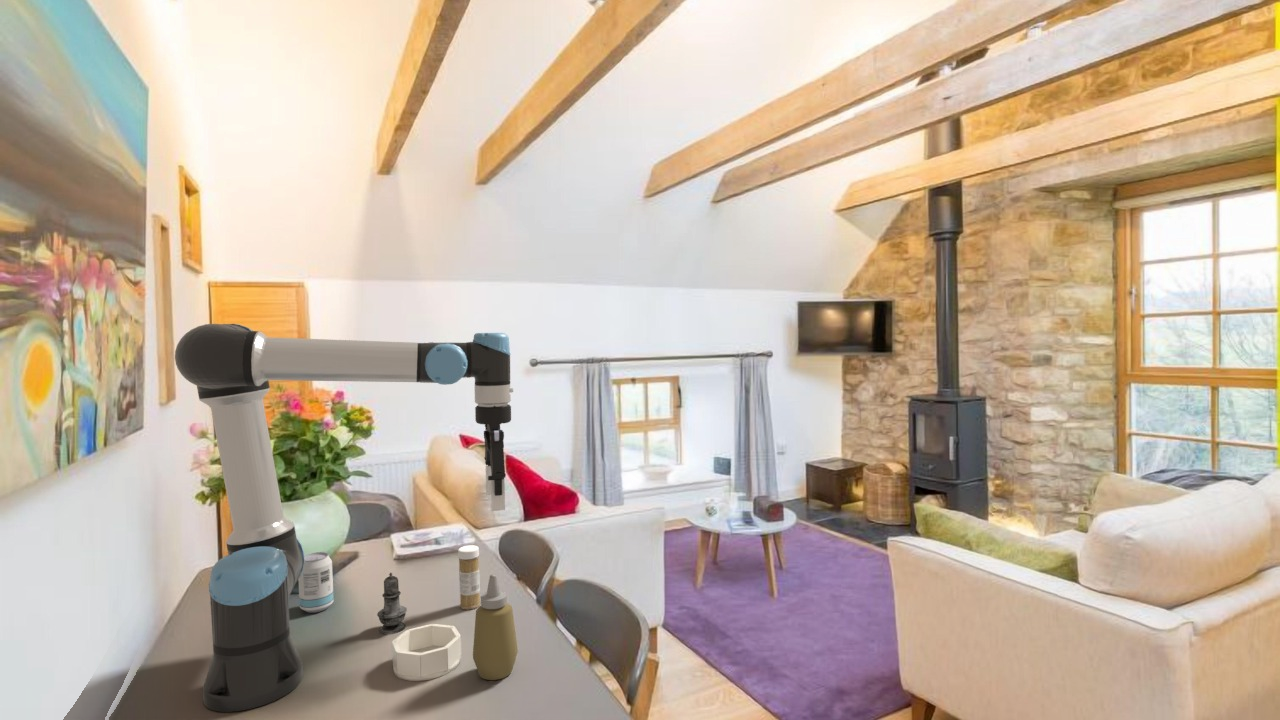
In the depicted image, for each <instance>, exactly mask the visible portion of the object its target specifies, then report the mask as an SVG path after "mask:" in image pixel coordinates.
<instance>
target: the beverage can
mask: <svg viewBox="0 0 1280 720" xmlns="http://www.w3.org/2000/svg"><path fill="white" fill-rule="evenodd" d="M304 556H305V562H304V565H303V566H304V568H303V571H302V573H301V575H300V577H299V579H298V580H297V581H298V599H299V600H298V601H299V609H301V610H302V611H304V612H306V613H308V614H309V613H310V614H311V613H312V614H313V613H319V612H322V611H326V610H327V609H328V608H329V607H330V606H331V605H332V604H333V603H334V581H333V578H334V575H333V560H332V559H331V557H330V555H329V553H328V552H325V551H317V552H311V553H307V554H304Z"/></svg>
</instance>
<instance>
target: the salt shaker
mask: <svg viewBox="0 0 1280 720" xmlns="http://www.w3.org/2000/svg"><path fill="white" fill-rule="evenodd" d="M388 575H389V576H387V577H385V579H384V580H383V594H382V597H383V602H384V603H383V608H382V609H380V610H378V612H377V614H376V616H377V617H378V620H379V622H380V623H381V624H382V626H380V628H379V633H380V634H383V635H393V634H398V633H400V632H402V631H404V630H405V629H406V627H407V624H406V623H405V622H403V621H404V619H405V617H406V614H407V611H408V608H407V607H406V606H405V605H404V606H403V605H401V603H400V595H401V591H399V590H400V589H399V579H398V577H397V576H395V575H394V576H393V572H389V574H388Z"/></svg>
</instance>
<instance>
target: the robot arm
mask: <svg viewBox="0 0 1280 720" xmlns="http://www.w3.org/2000/svg"><path fill="white" fill-rule="evenodd" d="M510 350H511V349H510V338H509V335H508V334H506V333H505V332H475V333H474V334H473V339H472V341H467V342H433V341H432V342H429V341H428V342H409V341H406V342H405V341H403V342H402V341H381V340H380V341H379V340H378V341H376V340H353V339H351V340H350V339H349V340H346V339H325V338H319V339H318V338H299V337H297V338H296V337H273V336H272V337H271V336H270V337H268V336H267V335H266V334H265V333H263V332H262V331H261V330H260V331H259V330H253V329H251V328H250V327H247V326H245V325H241V324H239V323H207V324H202V325H199V326H196V327H194V328H192V329H190V330H189V331H188V332H186V333H185V334H183V336H181V338H180V339H179V341H178V343H177V344H176V347H175V351H174V352H175V353H174V361H175V365H176V368H177V370H178V372H179V373H180V374H181V376H182V377H183V378H184V379H185V380H186V381H188V382H189V383H190V384H193V385H194V386H196V389H197V395H198V399H199V401H200V402H202V403H203V404H204V405H206V406H208V407H209V408H210V411H211V415H212V422H213V425H214V426H213V427H214V431H215V432H214V433H215V438H216V442H217V449H218V454H219V458H220V464H221V470H222V475H223V480H224V485H225V491H226V497H227V502H228V506H229V507H228V508H229V512H230V519H231V523H232V532H230V534H229V536H228V537H227V538H226V540H225V544H226V548H227V554H228V555H225V556H223V557H222V558H220V559H219V560H217V562H215V564H214V565H213V566H212V567H211V570H210V573H209V581H208V592H209V596H210V614H211V616H210V617H211V633H212V634H211V635H212V647H213V649H212V652H213V653H212V658H211V661H210V665H209V667H208V670H207V673H206V677H205V680H204V683H203V687H202V698H203V701H202V702H203V705H204V706H205V707H206V708H207V709H209V710H210V711H211V710H212V711H214V712H215V711H216V712H224V713H225V712H226V713H231V712H239V711H241V712H242V711H245V710H251V709H255V708H258V707H262V706H264V705H267V704H271V703H273V702H275V701H277V700H279V699H281V698H283V697H285V696H286V695H287V694H289V693H291V692H292V691H294V690H295V689H296V688H297V687H298V686H299V685H300V683H301V682H302V680H303V677H304V674H303V672H304V670H303V661H302V660H301V657H300V655H299V652H298V651H297V649H296V647H295V644H294V641H293V639H292V637H291V628H290V604H289V603H290V602H289V599H290V595H291V594H292V591H293V590H294V588H295V586H296V584H297V582H298V581H299V580H298V579H299V577H300V575H301V573H302V571H303V568H304V566H303V565H304V562H305V549H304V547H303V544H302V543H301V542H300V540H299V539H298V537H297V533H296V528H295V523H294V522H293V521H291V520H289V519H287V518H286V517H284V511H283V510H284V509H283V506H282V500H281V494H280V489H279V488H280V487H279V483H278V478H277V477H278V476H277V472H276V471H277V470H276V467H275V462H274V461H275V460H274V454H273V450H272V449H273V448H272V444H271V438H270V432H269V427H268V421H267V416H266V411H265V405H264V398H265V397H266V395H267V394H268V393H269V391H270V390H271V388H270V381H287V382H289V381H294V382H295V381H296V382H297V381H299V382H300V381H301V382H302V381H303V382H309V381H311V382H318V381H319V382H362V383H363V382H366V383H367V382H368V383H369V382H372V383H374V382H375V383H378V382H380V383H425V384H427V383H428V384H429V383H430V384H436V383H437V384H438V385H447V386H448V385H453V384H456V383H457V382H459V381H460V380H461V379H464V378H465V379H466V378H469V379H470V378H474V403H475V404H477V405H476V407H475V408H474V411H475V416H474V417H475V418H474V419H475V423H476V424H479V425H484V427H485V430H483V438H484V463H485V494H486V496H490V505H491V507H490V510H491V512H497V511H505V510H506V497H505V496H506V494H505V493H506V492H505V490H506V489H505V485H506V484H505V479H506V476H507V474H506V468H505V467H506V466H505V454H504V453H505V452H504V448H505V446H504V439H505V432H504V431H503V429H501V424H508V423H510V422H511V421H512V406H511V405H510V402H511V401H512V399H511V394H512V393H513V392H514V388H512V387H511V351H510Z"/></svg>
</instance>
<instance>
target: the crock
mask: <svg viewBox="0 0 1280 720" xmlns="http://www.w3.org/2000/svg"><path fill="white" fill-rule="evenodd" d="M391 651H392V652H391V653H392V654H391V655H392V657H391V658H392V666H393V668H392V670H393V673H394V675H395V676H396V677H398V679H401V680H404V681H411V682H422V681H427V680H429V681H430V680H433V679H437V678H440V677H442V676H445V675H447V674H449V673H451V672H452V671H453V670H455V669H456V668H457V667H458V666H459V664H460V663H461V659H462V655H463V654H462V636H461V634H460V632H459V631H458V629H457V627H456V626H454V625H448V624H438V623H430V624H426V625H422V626H417V627H414V628H410V629H407V630H405V631H404V632H402V633H401V634H400V635H398V636H397V637H396V638H394V639H393V640H392V641H391Z"/></svg>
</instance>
